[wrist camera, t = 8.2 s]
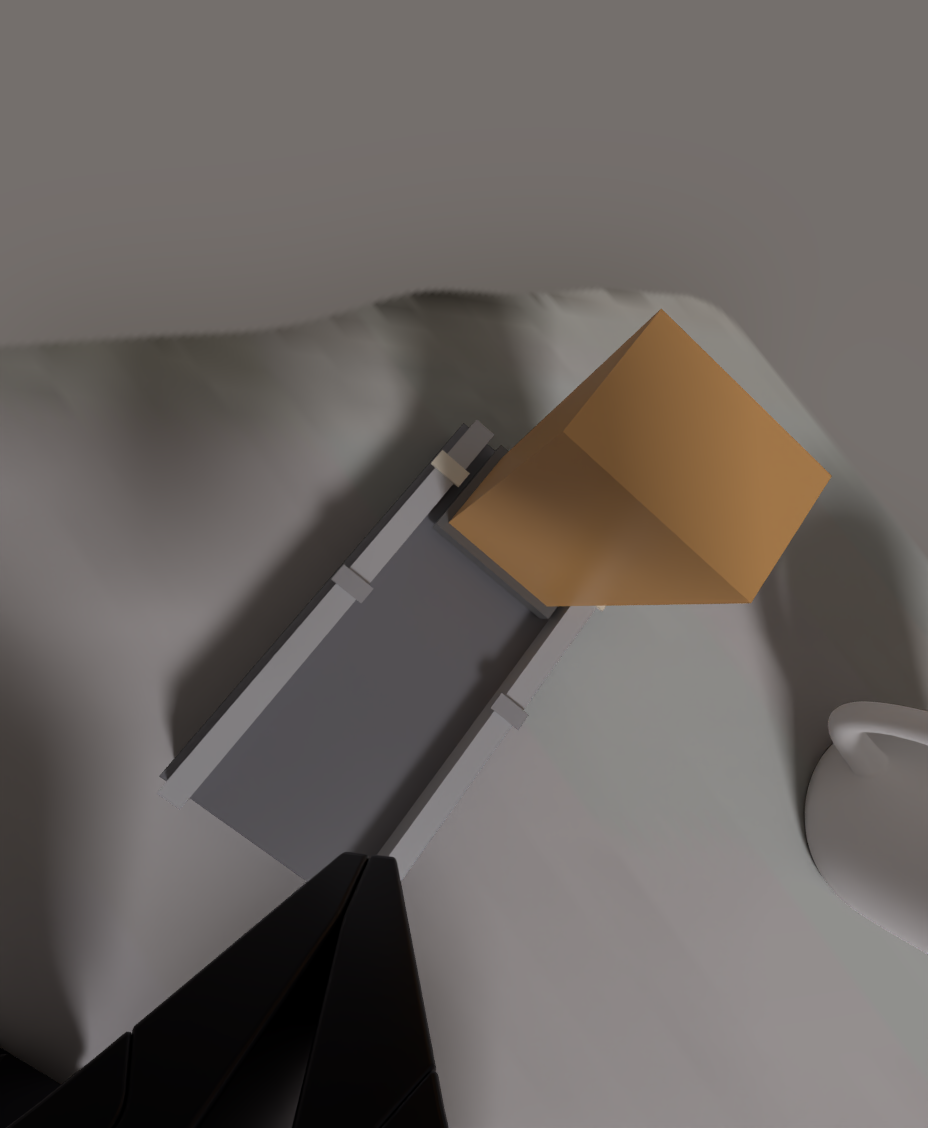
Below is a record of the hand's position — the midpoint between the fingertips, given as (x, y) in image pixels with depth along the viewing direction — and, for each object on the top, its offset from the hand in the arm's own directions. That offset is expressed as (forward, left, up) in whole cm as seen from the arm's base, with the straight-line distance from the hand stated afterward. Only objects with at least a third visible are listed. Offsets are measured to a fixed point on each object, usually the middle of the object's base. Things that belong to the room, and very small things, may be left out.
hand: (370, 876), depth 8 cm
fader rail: (+3, 0, -11) cm, 11 cm away
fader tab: (+9, 0, -9) cm, 13 cm away
